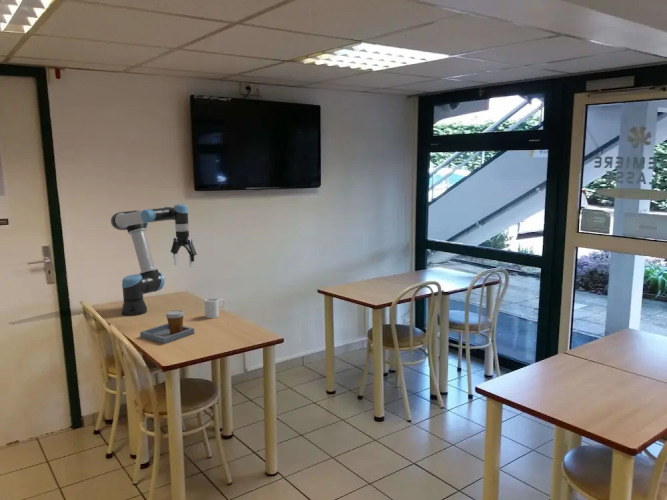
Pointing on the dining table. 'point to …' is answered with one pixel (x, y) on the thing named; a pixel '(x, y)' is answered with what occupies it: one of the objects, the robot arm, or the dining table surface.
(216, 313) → the mug
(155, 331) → the slate tray
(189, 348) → the dining table surface
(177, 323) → the disposable coffee cup
